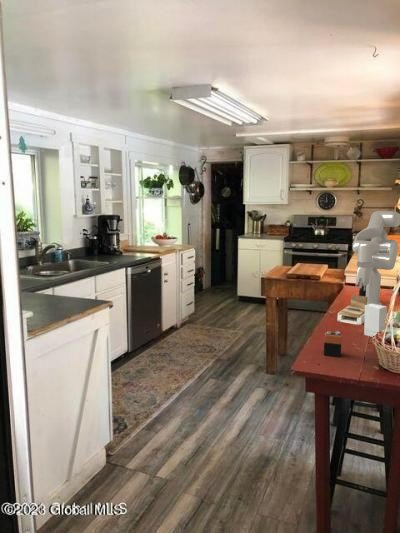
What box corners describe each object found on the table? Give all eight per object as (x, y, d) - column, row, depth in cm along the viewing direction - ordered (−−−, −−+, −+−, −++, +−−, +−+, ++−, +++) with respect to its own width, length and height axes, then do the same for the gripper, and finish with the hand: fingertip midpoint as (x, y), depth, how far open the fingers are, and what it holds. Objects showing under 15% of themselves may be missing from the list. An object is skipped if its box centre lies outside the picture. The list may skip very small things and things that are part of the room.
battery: (340, 357, 178) (341, 334, 176) (323, 355, 180) (324, 332, 178) (340, 353, 182) (342, 331, 180) (324, 351, 184) (325, 329, 182)
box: (348, 313, 242) (348, 305, 241) (370, 316, 235) (370, 309, 234) (337, 321, 227) (337, 313, 226) (360, 325, 220) (361, 316, 220)
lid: (349, 307, 240) (350, 294, 239) (368, 310, 234) (369, 297, 233) (339, 314, 226) (340, 300, 225) (359, 318, 221) (360, 303, 219)
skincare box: (386, 337, 202) (388, 306, 200) (378, 339, 199) (380, 308, 196) (370, 332, 209) (372, 302, 207) (362, 334, 206) (364, 304, 203)
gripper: (361, 262, 245) (359, 294, 248) (353, 266, 233) (351, 299, 236) (375, 263, 241) (372, 295, 244) (367, 267, 229) (365, 301, 232)
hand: (362, 297), depth 240 cm, fingers closed
